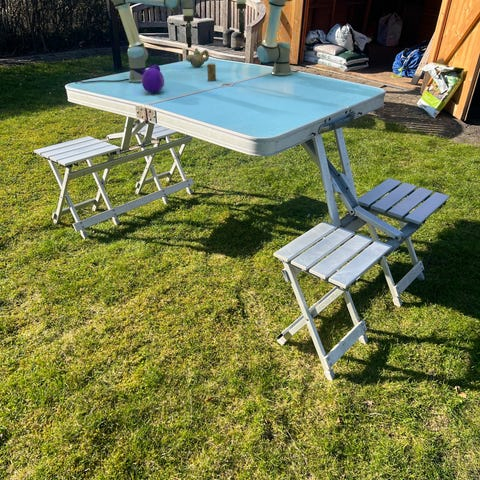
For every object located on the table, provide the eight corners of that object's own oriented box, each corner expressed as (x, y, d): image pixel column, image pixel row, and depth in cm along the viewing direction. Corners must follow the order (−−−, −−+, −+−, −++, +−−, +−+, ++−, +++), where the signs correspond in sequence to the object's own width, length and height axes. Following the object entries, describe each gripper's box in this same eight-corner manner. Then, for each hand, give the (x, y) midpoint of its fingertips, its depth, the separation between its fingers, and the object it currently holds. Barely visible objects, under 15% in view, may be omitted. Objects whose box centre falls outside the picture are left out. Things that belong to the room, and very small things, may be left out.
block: (215, 79, 339) (214, 63, 333) (215, 81, 335) (215, 64, 329) (207, 79, 339) (207, 63, 333) (208, 81, 334) (207, 64, 328)
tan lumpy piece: (189, 69, 379) (188, 50, 372) (184, 67, 388) (182, 48, 380) (212, 66, 388) (211, 47, 381) (206, 64, 397) (205, 46, 389)
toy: (156, 85, 322) (164, 98, 301) (131, 81, 314) (137, 93, 294) (160, 63, 314) (168, 74, 293) (135, 58, 306) (141, 69, 286)
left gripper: (183, 14, 341) (185, 44, 352) (182, 16, 319) (184, 48, 330) (193, 14, 341) (195, 44, 352) (192, 16, 320) (194, 48, 331)
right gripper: (234, 2, 359) (235, 31, 370) (238, 4, 338) (238, 34, 348) (244, 2, 360) (244, 31, 370) (247, 3, 338) (248, 34, 349)
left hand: (189, 46), depth 341 cm, fingers open, 13 cm apart
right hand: (241, 33), depth 359 cm, fingers open, 13 cm apart
